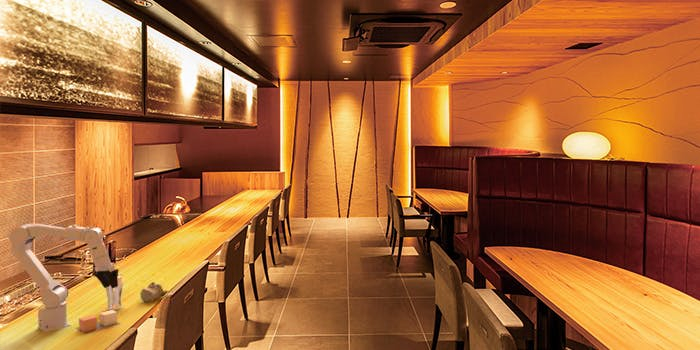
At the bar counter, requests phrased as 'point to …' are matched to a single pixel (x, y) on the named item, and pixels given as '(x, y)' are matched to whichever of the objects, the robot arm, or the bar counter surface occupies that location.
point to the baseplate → (98, 327)
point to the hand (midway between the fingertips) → (111, 287)
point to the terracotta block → (87, 323)
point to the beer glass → (115, 295)
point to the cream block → (108, 317)
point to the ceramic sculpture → (152, 292)
